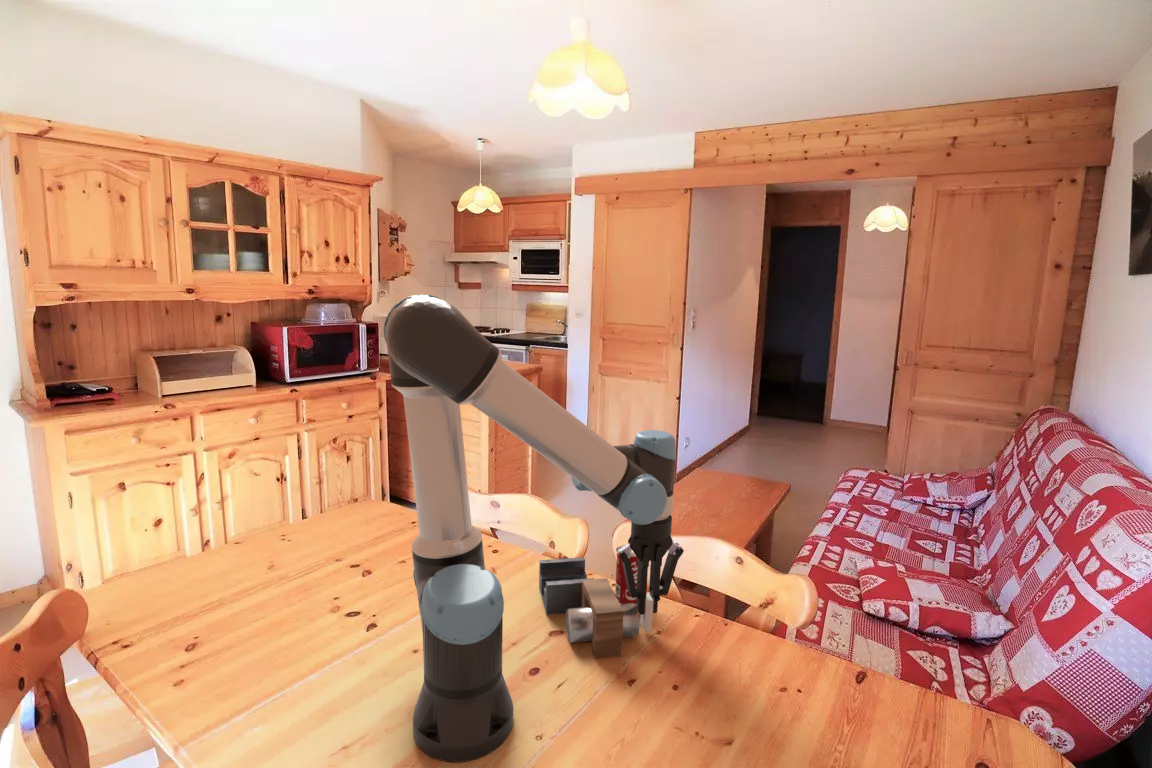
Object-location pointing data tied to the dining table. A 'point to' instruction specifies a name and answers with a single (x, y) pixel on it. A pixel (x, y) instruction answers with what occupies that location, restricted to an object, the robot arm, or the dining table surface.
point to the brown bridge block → (604, 617)
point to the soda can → (621, 584)
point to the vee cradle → (561, 584)
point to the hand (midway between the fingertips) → (645, 627)
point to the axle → (582, 623)
